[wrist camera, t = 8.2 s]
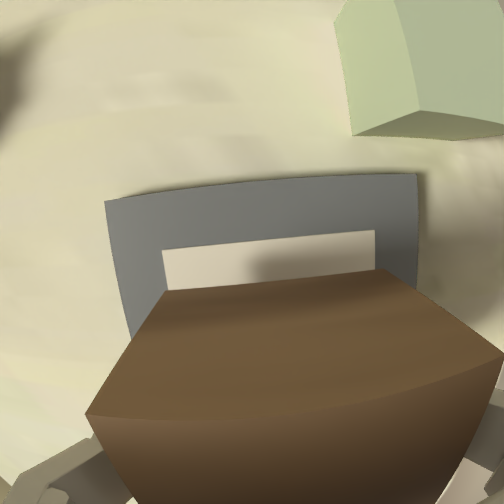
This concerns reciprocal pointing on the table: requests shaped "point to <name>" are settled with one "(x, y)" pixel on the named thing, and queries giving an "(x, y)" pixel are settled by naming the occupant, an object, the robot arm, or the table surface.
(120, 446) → the walnut block
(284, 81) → the table surface
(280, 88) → the table surface
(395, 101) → the sage cube
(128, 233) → the board
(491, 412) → the robot arm
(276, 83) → the table surface
